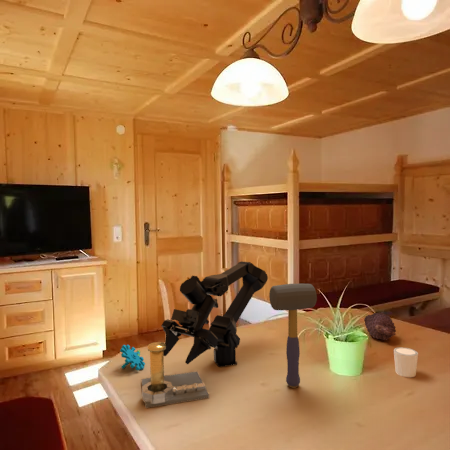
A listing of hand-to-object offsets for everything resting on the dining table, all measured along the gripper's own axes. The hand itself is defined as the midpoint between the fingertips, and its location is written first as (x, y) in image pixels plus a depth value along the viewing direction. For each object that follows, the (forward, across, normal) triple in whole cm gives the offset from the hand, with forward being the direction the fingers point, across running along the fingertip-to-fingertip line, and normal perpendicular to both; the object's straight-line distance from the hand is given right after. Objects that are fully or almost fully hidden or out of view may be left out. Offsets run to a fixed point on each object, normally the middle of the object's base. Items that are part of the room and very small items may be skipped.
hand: (174, 359), depth 106 cm
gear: (+5, -22, +8) cm, 24 cm away
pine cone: (-48, +34, +62) cm, 86 cm away
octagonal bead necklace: (+6, 0, +5) cm, 8 cm away
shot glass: (-29, +50, +43) cm, 72 cm away
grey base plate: (+6, 0, +6) cm, 9 cm away
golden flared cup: (+10, 0, +1) cm, 10 cm away
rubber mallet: (-9, +26, +22) cm, 35 cm away
